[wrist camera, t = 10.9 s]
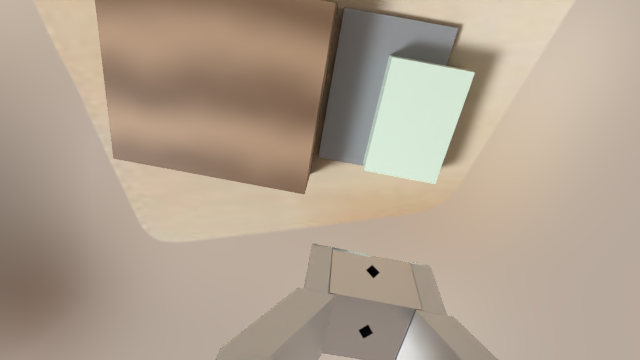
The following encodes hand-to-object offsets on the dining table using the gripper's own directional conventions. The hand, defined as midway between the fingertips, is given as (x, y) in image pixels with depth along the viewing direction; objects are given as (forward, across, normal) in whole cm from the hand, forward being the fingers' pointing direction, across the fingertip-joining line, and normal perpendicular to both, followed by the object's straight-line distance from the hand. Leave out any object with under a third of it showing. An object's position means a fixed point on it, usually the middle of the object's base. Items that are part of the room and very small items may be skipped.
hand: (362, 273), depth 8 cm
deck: (+21, +11, 0) cm, 24 cm away
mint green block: (+18, -5, 0) cm, 19 cm away
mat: (+21, -2, -1) cm, 21 cm away
